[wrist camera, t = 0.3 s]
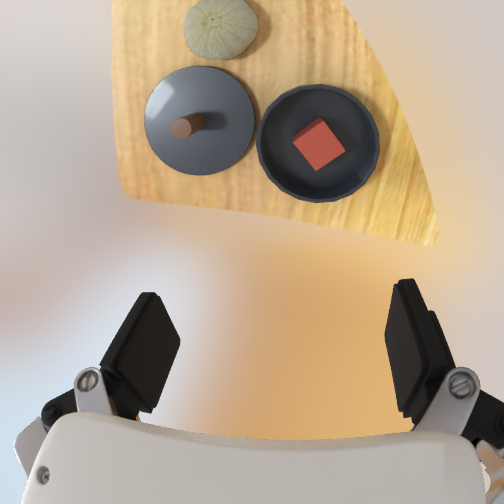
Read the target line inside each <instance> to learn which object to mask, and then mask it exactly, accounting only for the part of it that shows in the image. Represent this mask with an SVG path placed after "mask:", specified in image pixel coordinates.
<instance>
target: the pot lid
mask: <svg viewBox="0 0 504 504" xmlns="http://www.w3.org/2000/svg"><path fill="white" fill-rule="evenodd" d="M144 124H145V131H146V136H147V139H148V142H149V144H150V146H151V148H152V149H153V151H154V152H155V154H156V155H157V156H158V157H159V158H160V159H161V160H162V161H163V162H164V163H165V164H167V165H168V166H169V167H171V168H173V169H175V170H177V171H179V172H182V173H186V174H190V175H210V174H214V173H217V172H220V171H223V170H224V169H226V168H228V167H230V166H231V165H232V164H234V163H235V162H236V161H237V160H238V159H239V158H240V157H241V156H242V155H243V154H244V152H245V151H246V149H247V148H248V146H249V144H250V142H251V139H252V136H253V133H254V127H255V114H254V108H253V105H252V101H251V99H250V97H249V95H248V93H247V91H246V90H245V88H244V87H243V86H242V85H241V84H240V83H239V82H238V81H237V80H236V79H235V78H234V77H232V76H231V75H229V74H228V73H226V72H224V71H222V70H219V69H216V68H212V67H207V66H193V67H187V68H183V69H180V70H178V71H176V72H174V73H172V74H170V75H169V76H167V77H166V78H164V79H163V80H162V81H161V82H160V83H159V84H158V85H157V87H156V88H155V89H154V91H153V92H152V94H151V96H150V98H149V100H148V102H147V106H146V110H145V117H144Z"/></svg>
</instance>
